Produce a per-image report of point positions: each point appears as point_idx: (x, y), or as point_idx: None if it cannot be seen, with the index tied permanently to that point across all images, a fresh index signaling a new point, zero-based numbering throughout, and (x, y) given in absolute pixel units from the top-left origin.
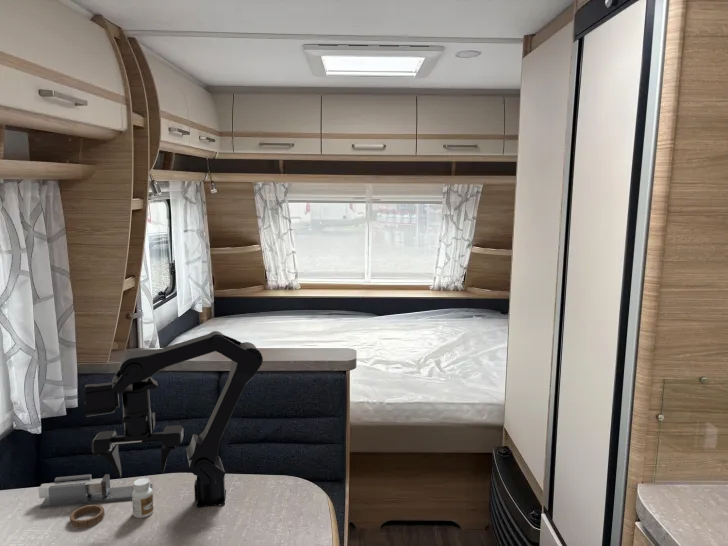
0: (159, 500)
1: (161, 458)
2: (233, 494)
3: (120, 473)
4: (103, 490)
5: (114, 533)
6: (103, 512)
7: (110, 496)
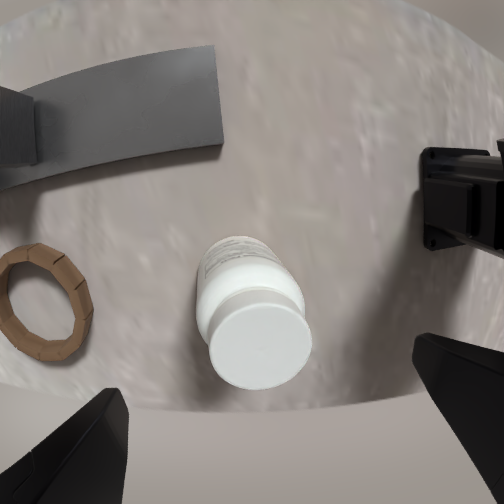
0: (279, 172)
1: (481, 473)
2: None
3: (122, 424)
4: (15, 166)
5: (179, 387)
6: (82, 298)
7: (53, 157)
